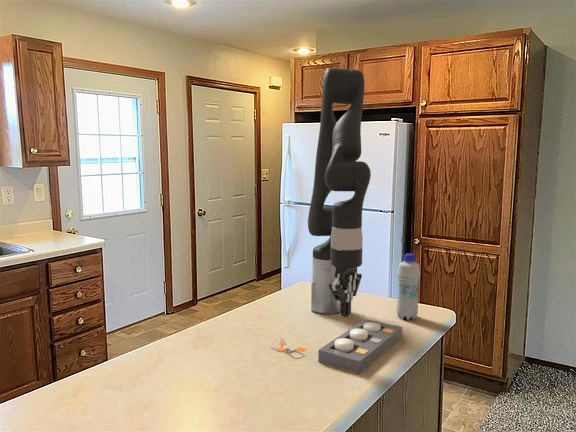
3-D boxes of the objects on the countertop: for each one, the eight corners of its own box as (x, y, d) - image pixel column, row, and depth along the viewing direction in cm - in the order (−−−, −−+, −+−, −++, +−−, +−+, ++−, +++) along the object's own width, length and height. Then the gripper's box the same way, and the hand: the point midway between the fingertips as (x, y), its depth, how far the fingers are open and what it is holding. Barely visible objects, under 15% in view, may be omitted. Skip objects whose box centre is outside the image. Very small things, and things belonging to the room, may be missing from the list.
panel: (359, 373, 110) (359, 360, 110) (318, 361, 116) (318, 349, 116) (401, 337, 131) (402, 326, 131) (365, 328, 138) (365, 318, 137)
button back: (376, 336, 128) (376, 329, 127) (360, 333, 130) (360, 326, 130) (383, 331, 131) (383, 324, 131) (367, 327, 134) (367, 321, 134)
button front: (348, 355, 115) (348, 347, 114) (331, 350, 117) (331, 342, 117) (356, 348, 118) (356, 341, 118) (340, 344, 121) (340, 336, 121)
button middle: (362, 344, 121) (362, 336, 121) (346, 340, 124) (346, 332, 123) (370, 338, 125) (370, 331, 125) (354, 334, 127) (354, 327, 127)
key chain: (315, 353, 122) (315, 350, 122) (293, 362, 117) (293, 358, 117) (283, 338, 131) (283, 335, 131) (261, 345, 127) (261, 342, 126)
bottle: (416, 313, 150) (418, 251, 147) (420, 321, 143) (422, 256, 141) (394, 313, 151) (396, 250, 148) (397, 320, 144) (399, 255, 141)
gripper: (345, 239, 122) (344, 305, 124) (318, 248, 111) (318, 320, 113) (372, 243, 117) (371, 311, 120) (347, 252, 107) (346, 327, 109)
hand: (345, 315), depth 116 cm, fingers closed
